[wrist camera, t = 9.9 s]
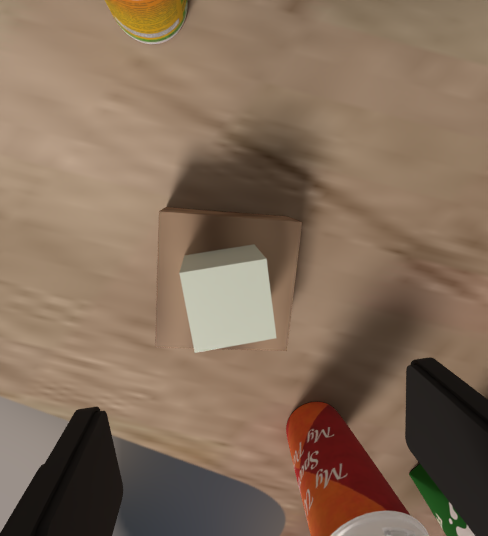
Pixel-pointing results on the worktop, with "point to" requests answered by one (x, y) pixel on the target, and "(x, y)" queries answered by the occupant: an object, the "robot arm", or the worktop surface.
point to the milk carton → (439, 504)
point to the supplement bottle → (149, 18)
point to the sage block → (227, 297)
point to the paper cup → (342, 479)
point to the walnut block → (217, 238)
